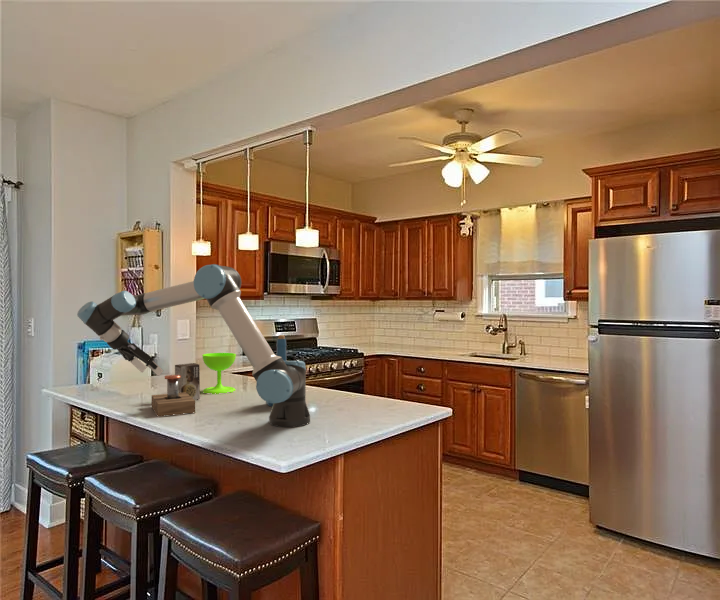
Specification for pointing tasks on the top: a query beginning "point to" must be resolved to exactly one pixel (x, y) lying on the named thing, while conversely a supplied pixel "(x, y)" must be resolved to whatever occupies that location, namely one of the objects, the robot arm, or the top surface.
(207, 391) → the wineglass
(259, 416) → the top surface
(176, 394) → the metal pin
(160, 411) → the walnut socket block
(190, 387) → the coffee box
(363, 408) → the top surface
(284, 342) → the wine bottle
